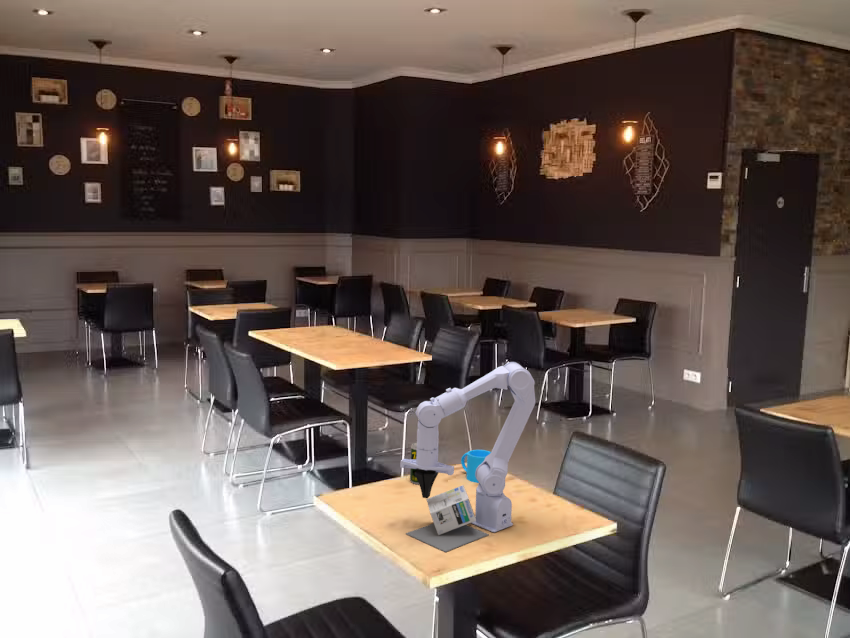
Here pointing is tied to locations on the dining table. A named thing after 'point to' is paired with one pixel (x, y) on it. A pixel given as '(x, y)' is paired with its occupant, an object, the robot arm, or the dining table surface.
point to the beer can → (413, 456)
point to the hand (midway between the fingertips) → (426, 496)
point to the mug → (473, 462)
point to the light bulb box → (451, 510)
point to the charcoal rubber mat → (447, 537)
